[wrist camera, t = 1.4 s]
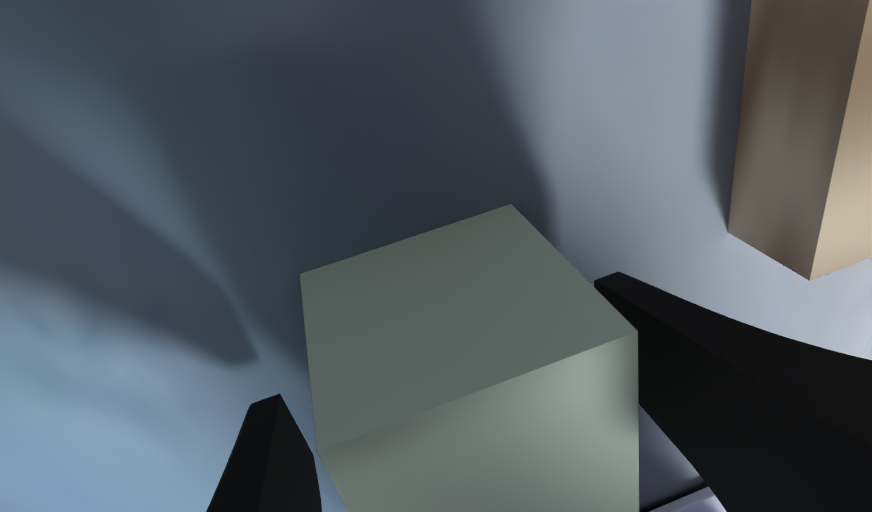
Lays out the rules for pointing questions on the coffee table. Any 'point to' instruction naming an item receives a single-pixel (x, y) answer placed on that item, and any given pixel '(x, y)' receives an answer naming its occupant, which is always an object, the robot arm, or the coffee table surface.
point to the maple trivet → (806, 135)
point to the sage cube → (472, 376)
